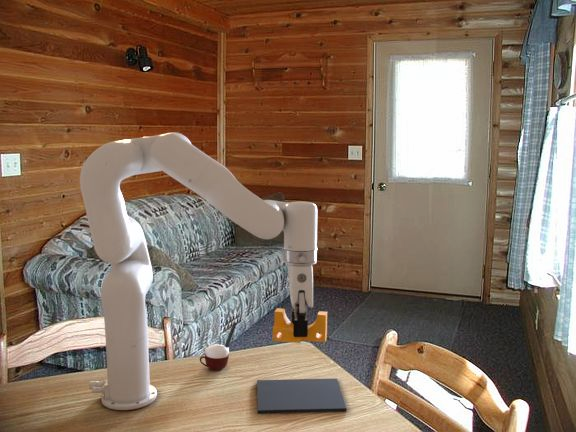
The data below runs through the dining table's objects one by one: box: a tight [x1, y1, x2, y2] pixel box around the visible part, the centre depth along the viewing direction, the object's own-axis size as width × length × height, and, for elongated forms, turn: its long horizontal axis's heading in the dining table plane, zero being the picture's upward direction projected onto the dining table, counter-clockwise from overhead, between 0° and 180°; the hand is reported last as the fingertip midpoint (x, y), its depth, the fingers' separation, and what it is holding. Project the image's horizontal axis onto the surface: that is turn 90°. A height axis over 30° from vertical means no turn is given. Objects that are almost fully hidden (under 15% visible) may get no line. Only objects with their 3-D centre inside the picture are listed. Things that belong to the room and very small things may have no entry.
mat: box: [256, 377, 348, 415], centre depth 147 cm, size 20×16×1 cm
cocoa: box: [199, 320, 238, 371], centre depth 163 cm, size 10×6×12 cm, turn 89°
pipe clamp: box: [272, 307, 328, 344], centre depth 144 cm, size 12×4×6 cm, turn 79°
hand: (299, 331), depth 144 cm, fingers closed on pipe clamp, 4 cm apart
